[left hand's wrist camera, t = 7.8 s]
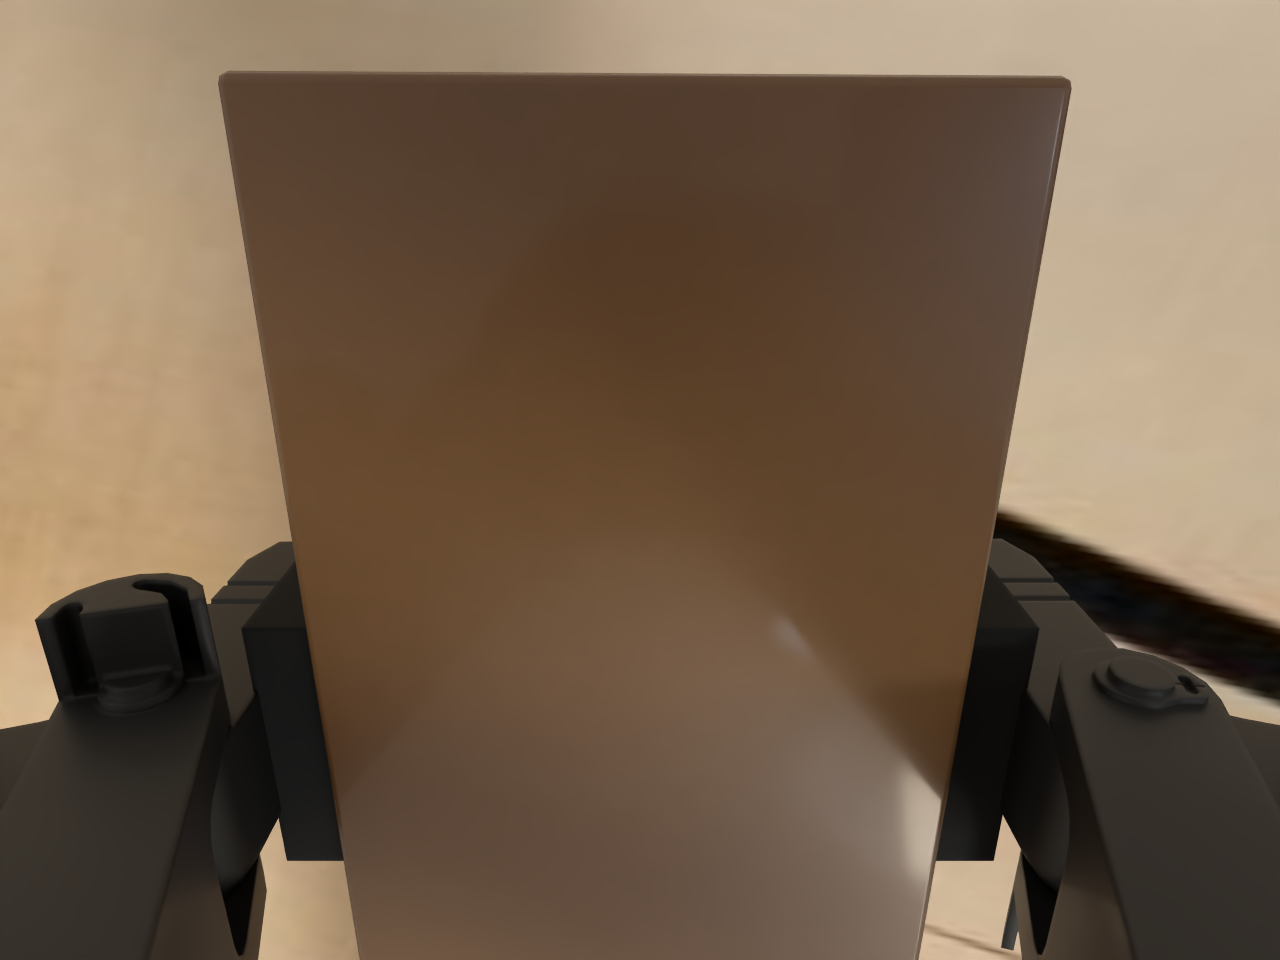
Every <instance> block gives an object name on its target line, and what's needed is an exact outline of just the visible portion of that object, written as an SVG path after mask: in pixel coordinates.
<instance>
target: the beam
mask: <svg viewBox="0 0 1280 960" xmlns="http://www.w3.org/2000/svg"><path fill="white" fill-rule="evenodd" d="M218 85H219V91H220V97H221V103H222V109H223V116H224V122H225V128H226V134H227V140H228V147H229V153H230V159H231V165H232V171H233V177H234V184H235V190H236V196H237V202H238V208H239V215H240V221H241V227H242V233H243V239H244V246H245V252H246V258H247V264H248V270H249V276H250V283H251V289H252V295H253V301H254V307H255V314H256V320H257V326H258V332H259V338H260V345H261V351H262V357H263V363H264V369H265V375H266V382H267V388H268V394H269V400H270V406H271V413H272V419H273V425H274V431H275V437H276V444H277V450H278V456H279V462H280V468H281V474H282V481H283V487H284V493H285V499H286V505H287V512H288V518H289V524H290V530H291V536H292V542H293V549H294V555H295V561H296V567H297V573H298V580H299V586H300V592H301V598H302V604H303V611H304V617H305V623H306V629H307V635H308V641H309V648H310V654H311V660H312V666H313V672H314V679H315V685H316V691H317V697H318V703H319V710H320V716H321V722H322V728H323V734H324V740H325V747H326V753H327V759H328V765H329V771H330V778H331V784H332V790H333V796H334V802H335V809H336V815H337V821H338V827H339V833H340V839H341V846H342V852H343V858H344V864H345V870H346V877H347V883H348V889H349V895H350V901H351V908H352V914H353V920H354V926H355V932H356V938H357V945H358V951H359V957H360V960H918V959H919V953H920V948H921V942H922V936H923V931H924V925H925V919H926V914H927V908H928V902H929V896H930V891H931V885H932V879H933V874H934V868H935V862H936V857H937V851H938V845H939V840H940V834H941V828H942V822H943V817H944V811H945V805H946V800H947V794H948V788H949V783H950V777H951V771H952V766H953V760H954V754H955V748H956V743H957V737H958V731H959V726H960V720H961V714H962V709H963V703H964V697H965V692H966V686H967V680H968V674H969V669H970V663H971V657H972V652H973V646H974V640H975V635H976V629H977V623H978V618H979V612H980V606H981V600H982V595H983V589H984V583H985V578H986V572H987V566H988V561H989V555H990V549H991V544H992V538H993V532H994V526H995V521H996V515H997V509H998V504H999V498H1000V492H1001V487H1002V481H1003V475H1004V470H1005V464H1006V458H1007V452H1008V447H1009V441H1010V435H1011V430H1012V424H1013V418H1014V413H1015V407H1016V401H1017V396H1018V390H1019V384H1020V378H1021V373H1022V367H1023V361H1024V356H1025V350H1026V344H1027V339H1028V333H1029V327H1030V322H1031V316H1032V310H1033V304H1034V299H1035V293H1036V287H1037V282H1038V276H1039V270H1040V265H1041V259H1042V253H1043V248H1044V242H1045V236H1046V230H1047V225H1048V219H1049V213H1050V208H1051V202H1052V196H1053V191H1054V185H1055V179H1056V174H1057V168H1058V162H1059V156H1060V151H1061V145H1062V139H1063V134H1064V128H1065V122H1066V117H1067V111H1068V105H1069V100H1070V94H1071V82H1070V80H1068V79H1066V78H1064V77H1062V76H987V75H820V74H653V73H486V72H319V71H227V72H225V73H223V74H221V75H220V76H219V83H218Z"/></svg>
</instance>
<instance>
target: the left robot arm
mask: <svg viewBox="0 0 1280 960" xmlns="http://www.w3.org/2000/svg"><path fill="white" fill-rule="evenodd" d="M1053 580H1054V578H1053V577H1052V576H1051V575H1050V574H1049V573H1048V572H1047V571H1046V570H1045V569H1044V567H1043V566H1042V565H1041V564H1040V563H1039V562H1038V561H1037V560H1036V559H1035V558H1034V557H1033V556H1031V555H1029V554H1027V553H1026V552H1024V551H1022V550H1020V549H1018V548H1017V547H1015V546H1013V545H1011V544H1009V543H1008V542H1006V541H1004V540H1002V539H992V544H991V549H990V555H989V561H988V566H987V572H986V578H985V583H984V589H983V595H982V600H981V606H980V612H979V618H978V623H977V629H976V635H975V640H974V646H973V652H972V657H971V663H970V669H969V674H968V680H967V686H966V692H965V697H964V703H963V709H962V714H961V720H960V726H959V731H958V737H957V743H956V748H955V754H954V760H953V766H952V771H951V777H950V783H949V788H948V794H947V800H946V805H945V811H944V817H943V822H942V828H941V834H940V840H939V845H938V851H937V857H936V861H994V856H995V851H996V846H997V841H998V836H999V831H1000V826H1001V821H1002V815H1003V816H1004V818H1005V820H1006V821H1007V823H1008V825H1009V827H1010V829H1011V831H1012V833H1013V835H1014V837H1015V839H1016V840H1017V842H1018V844H1019V846H1020V848H1021V852H1020V857H1019V862H1018V866H1017V871H1016V876H1015V881H1014V885H1013V890H1012V895H1011V899H1010V904H1009V909H1008V913H1007V918H1006V923H1005V928H1004V933H1003V939H1002V946H1001V948H1005V949H1009V950H1013V949H1014V945H1015V940H1016V936H1017V932H1019V937H1020V945H1021V953H1022V960H1280V725H1275V724H1270V723H1264V722H1259V721H1254V720H1248V719H1243V718H1239V717H1235V716H1230V715H1229V713H1228V712H1227V710H1226V708H1225V706H1224V704H1223V702H1222V700H1221V699H1220V698H1219V697H1218V696H1217V694H1216V693H1215V692H1214V691H1213V690H1212V689H1211V688H1210V686H1209V685H1208V684H1207V683H1206V682H1204V681H1203V680H1201V679H1200V678H1198V677H1197V676H1195V675H1194V674H1192V673H1190V672H1189V671H1187V670H1186V669H1184V668H1183V667H1180V666H1178V665H1176V664H1173V663H1171V662H1168V661H1166V660H1163V659H1161V658H1158V657H1156V656H1153V655H1149V654H1145V653H1140V652H1136V651H1132V650H1127V649H1122V648H1117V647H1116V646H1115V645H1114V644H1113V643H1112V641H1111V640H1110V639H1109V638H1108V637H1107V636H1106V635H1105V634H1104V633H1103V632H1102V631H1101V629H1100V628H1099V627H1098V626H1097V625H1096V624H1095V623H1094V622H1093V621H1092V620H1091V619H1090V618H1089V616H1088V615H1087V614H1086V613H1085V612H1084V611H1083V610H1082V609H1081V608H1080V607H1079V606H1078V604H1077V603H1076V602H1075V601H1070V596H1069V595H1068V594H1067V593H1066V591H1065V590H1064V589H1063V588H1062V587H1061V586H1060V585H1059V584H1058V583H1054V581H1053ZM35 622H36V625H37V629H38V632H39V635H40V639H41V642H42V645H43V649H44V652H45V655H46V659H47V662H48V665H49V669H50V672H51V675H52V679H53V682H54V685H55V689H56V692H57V695H58V699H59V702H58V704H57V706H56V708H55V710H54V711H53V713H52V715H51V717H50V719H49V720H46V721H42V722H38V723H32V724H27V725H21V726H16V727H11V728H5V729H0V960H258V955H259V947H260V939H261V932H262V924H263V916H264V908H265V900H266V892H267V890H266V883H265V877H264V871H263V866H262V862H261V857H260V852H261V850H262V848H263V846H264V844H265V842H266V840H267V839H268V837H269V835H270V833H271V831H272V829H273V827H274V825H275V823H276V821H277V820H278V818H279V822H280V827H281V832H282V837H283V842H284V848H285V853H286V858H287V861H344V858H343V852H342V846H341V839H340V833H339V827H338V821H337V815H336V809H335V802H334V796H333V790H332V784H331V778H330V771H329V765H328V759H327V753H326V747H325V740H324V734H323V728H322V722H321V716H320V710H319V703H318V697H317V691H316V685H315V679H314V672H313V666H312V660H311V654H310V648H309V641H308V635H307V629H306V623H305V617H304V611H303V604H302V598H301V592H300V586H299V580H298V573H297V567H296V561H295V555H294V549H293V542H279V543H277V544H275V545H273V546H271V547H270V548H268V549H266V550H264V551H263V552H261V553H259V554H257V555H255V556H254V557H252V558H250V559H248V560H247V561H246V562H245V563H244V564H243V565H242V566H241V567H240V569H239V570H238V571H237V572H236V573H235V574H234V575H233V576H232V577H231V578H230V580H229V581H228V585H227V586H223V587H222V588H221V589H220V590H219V592H218V593H217V594H216V595H215V596H214V597H213V598H212V599H211V604H207V603H206V598H205V594H204V589H203V585H201V584H200V583H198V582H197V581H195V580H194V579H192V578H191V577H187V576H181V575H176V574H170V573H158V574H138V575H133V576H128V577H122V578H117V579H112V580H107V581H104V582H101V583H98V584H95V585H93V586H90V587H87V588H84V589H81V590H78V591H76V592H74V593H72V594H70V595H68V596H66V597H65V598H63V599H61V600H59V601H57V602H55V603H53V604H52V605H50V606H49V607H48V608H47V609H46V610H45V611H44V612H43V613H42V614H41V615H40V616H39V617H38V618H37V619H35Z"/></svg>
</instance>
